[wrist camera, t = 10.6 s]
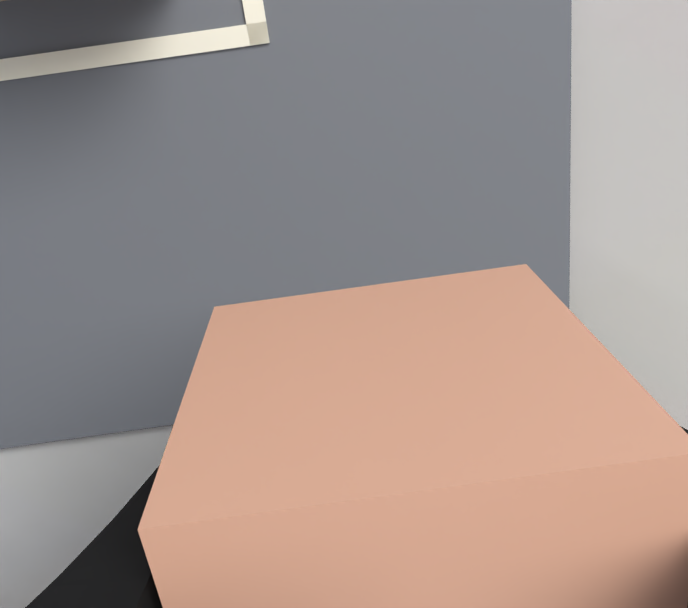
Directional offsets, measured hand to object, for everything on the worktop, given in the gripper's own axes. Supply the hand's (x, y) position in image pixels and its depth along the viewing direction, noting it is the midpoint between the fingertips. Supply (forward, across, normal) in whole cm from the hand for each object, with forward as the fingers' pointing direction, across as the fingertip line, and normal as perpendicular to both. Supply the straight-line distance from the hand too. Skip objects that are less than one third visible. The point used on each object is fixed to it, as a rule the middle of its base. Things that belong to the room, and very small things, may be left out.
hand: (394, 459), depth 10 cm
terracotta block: (+1, 0, 0) cm, 1 cm away
